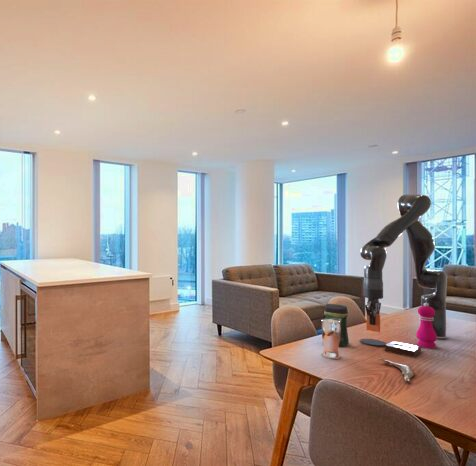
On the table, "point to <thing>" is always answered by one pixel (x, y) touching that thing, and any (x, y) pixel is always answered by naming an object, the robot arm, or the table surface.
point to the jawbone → (405, 369)
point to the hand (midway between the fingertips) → (373, 324)
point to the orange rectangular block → (377, 324)
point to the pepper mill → (426, 327)
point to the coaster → (373, 342)
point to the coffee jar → (338, 319)
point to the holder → (403, 348)
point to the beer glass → (331, 338)
